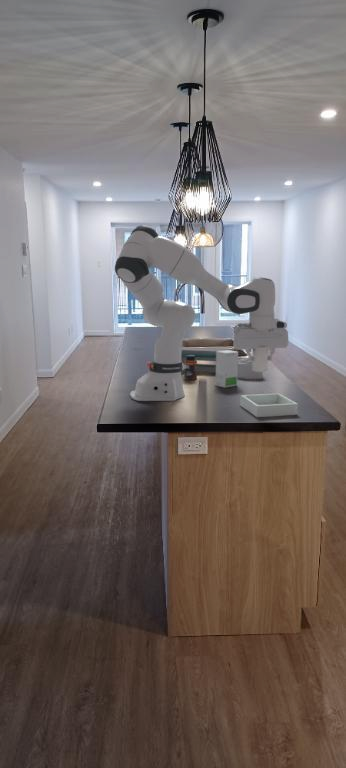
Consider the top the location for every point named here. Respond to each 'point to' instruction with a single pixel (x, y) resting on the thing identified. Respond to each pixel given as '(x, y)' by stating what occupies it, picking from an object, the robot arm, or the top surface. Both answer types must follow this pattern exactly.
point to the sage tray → (268, 405)
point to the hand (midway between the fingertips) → (259, 360)
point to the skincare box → (226, 368)
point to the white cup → (260, 359)
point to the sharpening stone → (202, 357)
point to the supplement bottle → (190, 368)
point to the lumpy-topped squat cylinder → (247, 370)
